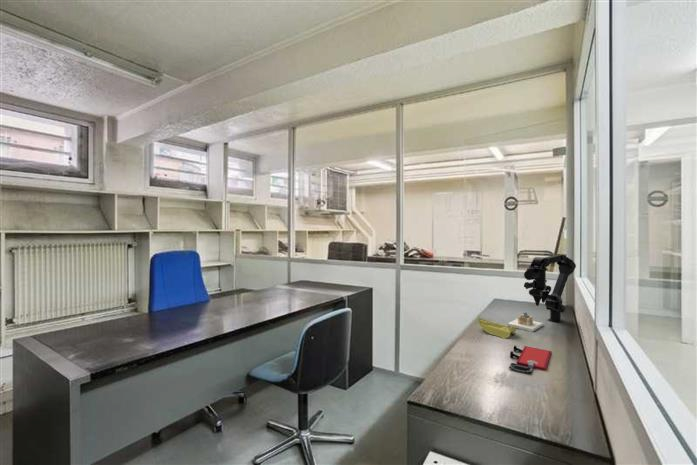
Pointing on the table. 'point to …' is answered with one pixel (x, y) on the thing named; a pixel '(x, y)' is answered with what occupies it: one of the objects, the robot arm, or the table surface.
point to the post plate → (531, 327)
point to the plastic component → (496, 328)
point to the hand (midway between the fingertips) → (540, 304)
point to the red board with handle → (530, 359)
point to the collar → (525, 320)
